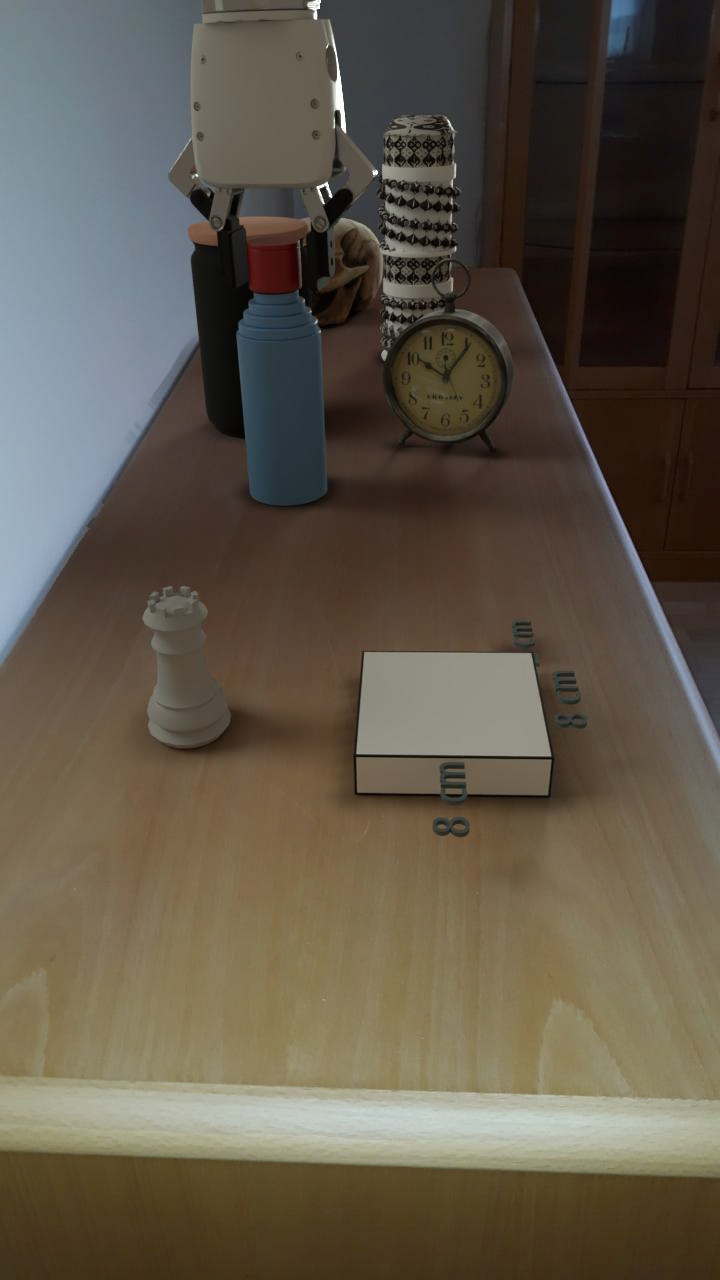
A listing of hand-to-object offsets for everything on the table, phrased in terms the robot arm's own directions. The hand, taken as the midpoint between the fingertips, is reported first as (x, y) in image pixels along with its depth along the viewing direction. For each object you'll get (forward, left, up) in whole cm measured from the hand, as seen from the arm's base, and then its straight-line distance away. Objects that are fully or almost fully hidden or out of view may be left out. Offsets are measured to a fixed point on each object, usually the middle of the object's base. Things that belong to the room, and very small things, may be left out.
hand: (278, 283), depth 73 cm
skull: (-15, +60, -17) cm, 64 cm away
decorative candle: (+2, +42, -17) cm, 45 cm away
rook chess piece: (+5, -33, -17) cm, 37 cm away
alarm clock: (+11, +13, -17) cm, 24 cm away
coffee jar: (-8, +16, -17) cm, 24 cm away
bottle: (0, 0, -16) cm, 16 cm away
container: (+20, -30, -17) cm, 40 cm away
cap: (0, 0, 0) cm, 0 cm away
